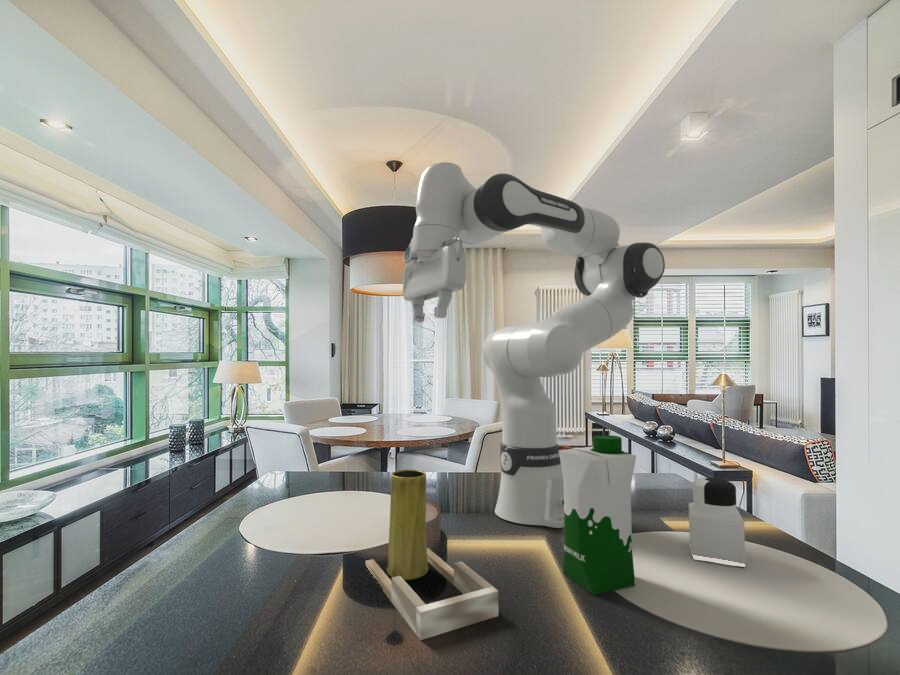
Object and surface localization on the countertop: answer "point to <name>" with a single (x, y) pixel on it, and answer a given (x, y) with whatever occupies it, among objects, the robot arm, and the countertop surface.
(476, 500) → the countertop surface
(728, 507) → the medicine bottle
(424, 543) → the vase
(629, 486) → the milk carton
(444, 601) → the frame
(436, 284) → the robot arm
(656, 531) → the countertop surface
